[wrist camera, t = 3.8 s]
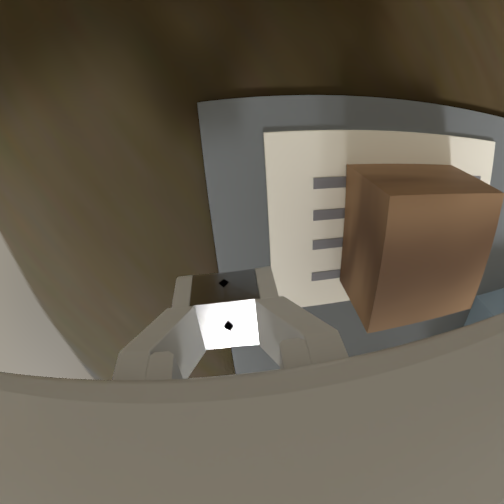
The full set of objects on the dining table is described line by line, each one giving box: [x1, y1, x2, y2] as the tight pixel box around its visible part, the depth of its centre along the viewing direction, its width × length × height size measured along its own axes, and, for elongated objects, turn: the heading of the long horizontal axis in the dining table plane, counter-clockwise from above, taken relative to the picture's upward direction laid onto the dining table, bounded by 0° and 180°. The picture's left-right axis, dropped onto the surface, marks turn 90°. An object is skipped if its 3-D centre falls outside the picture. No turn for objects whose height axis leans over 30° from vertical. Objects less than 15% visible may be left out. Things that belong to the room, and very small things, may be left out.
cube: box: [464, 288, 504, 326], centre depth 17 cm, size 5×5×5 cm
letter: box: [263, 130, 495, 307], centre depth 14 cm, size 9×13×1 cm
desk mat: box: [197, 95, 504, 374], centre depth 16 cm, size 18×26×1 cm
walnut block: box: [340, 164, 504, 333], centre depth 13 cm, size 6×6×4 cm
